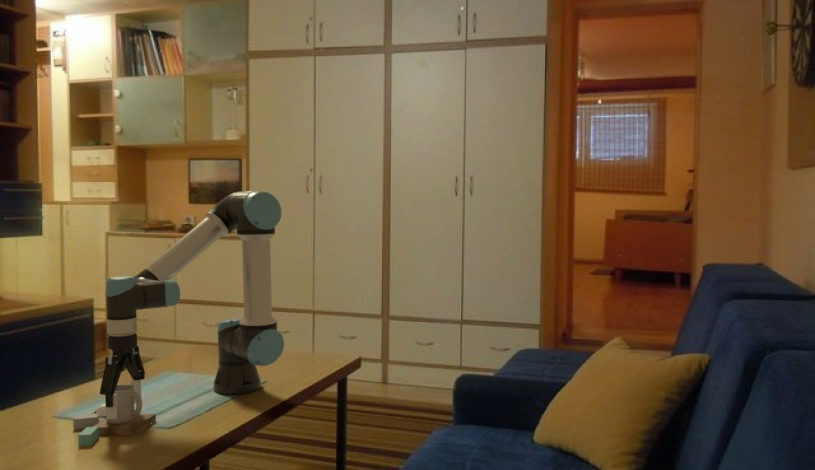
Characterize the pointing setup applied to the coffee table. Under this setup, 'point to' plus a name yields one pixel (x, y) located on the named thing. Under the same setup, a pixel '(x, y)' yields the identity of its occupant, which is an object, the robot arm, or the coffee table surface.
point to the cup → (126, 404)
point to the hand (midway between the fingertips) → (124, 410)
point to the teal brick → (88, 436)
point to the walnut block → (126, 425)
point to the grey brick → (85, 421)
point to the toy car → (100, 410)
